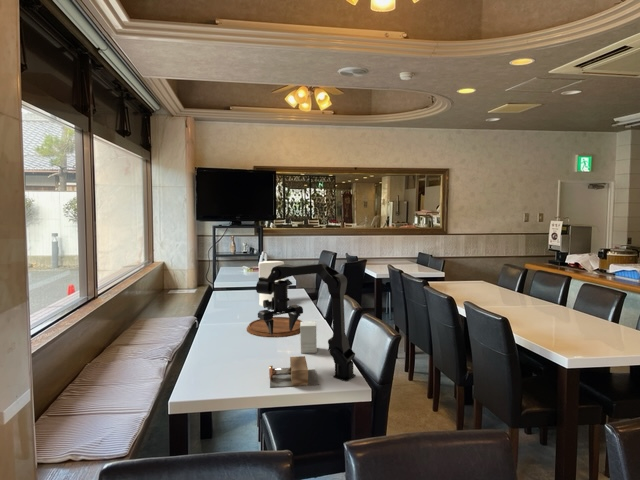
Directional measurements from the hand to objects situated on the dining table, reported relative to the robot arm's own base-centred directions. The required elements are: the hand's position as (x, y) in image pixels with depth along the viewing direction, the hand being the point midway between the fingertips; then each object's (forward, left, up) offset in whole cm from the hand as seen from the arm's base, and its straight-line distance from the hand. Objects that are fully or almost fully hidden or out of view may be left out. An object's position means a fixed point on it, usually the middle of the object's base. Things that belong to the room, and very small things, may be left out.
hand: (281, 332), depth 173 cm
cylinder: (+80, -74, -14) cm, 110 cm away
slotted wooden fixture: (-13, +7, -14) cm, 20 cm away
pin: (-10, +10, -13) cm, 19 cm away
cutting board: (+39, -36, -14) cm, 55 cm away
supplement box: (+3, -20, -14) cm, 25 cm away
